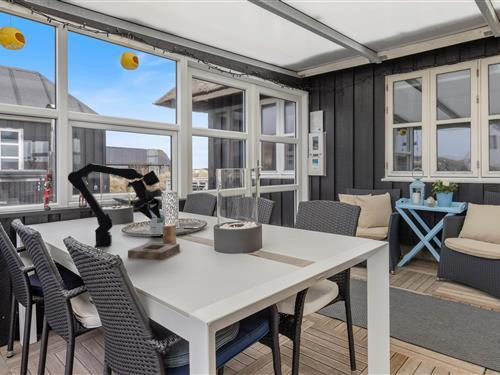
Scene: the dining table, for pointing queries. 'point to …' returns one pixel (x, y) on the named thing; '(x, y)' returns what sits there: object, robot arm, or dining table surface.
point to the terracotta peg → (169, 234)
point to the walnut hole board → (153, 250)
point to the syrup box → (157, 223)
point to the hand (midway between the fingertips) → (155, 218)
